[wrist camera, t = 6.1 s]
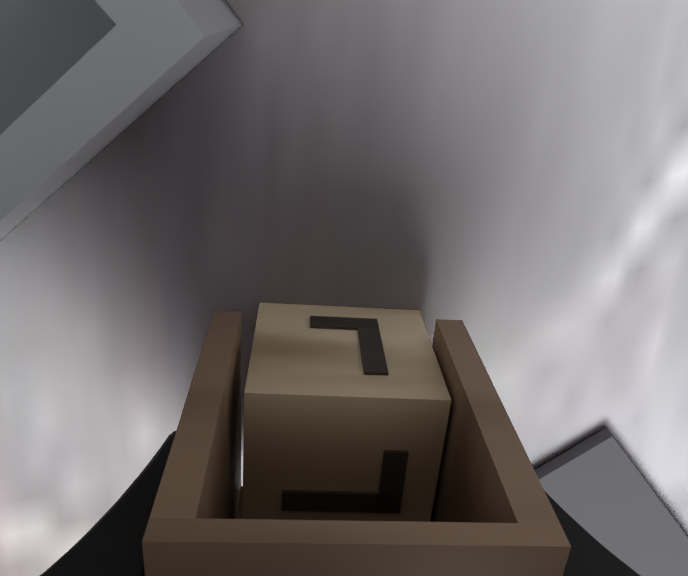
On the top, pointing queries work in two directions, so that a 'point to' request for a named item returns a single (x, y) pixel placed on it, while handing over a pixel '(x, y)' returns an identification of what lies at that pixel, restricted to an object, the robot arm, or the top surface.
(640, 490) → the rubber mat
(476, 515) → the tan open box
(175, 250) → the top surface
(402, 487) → the letter cube
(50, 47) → the grey bin
